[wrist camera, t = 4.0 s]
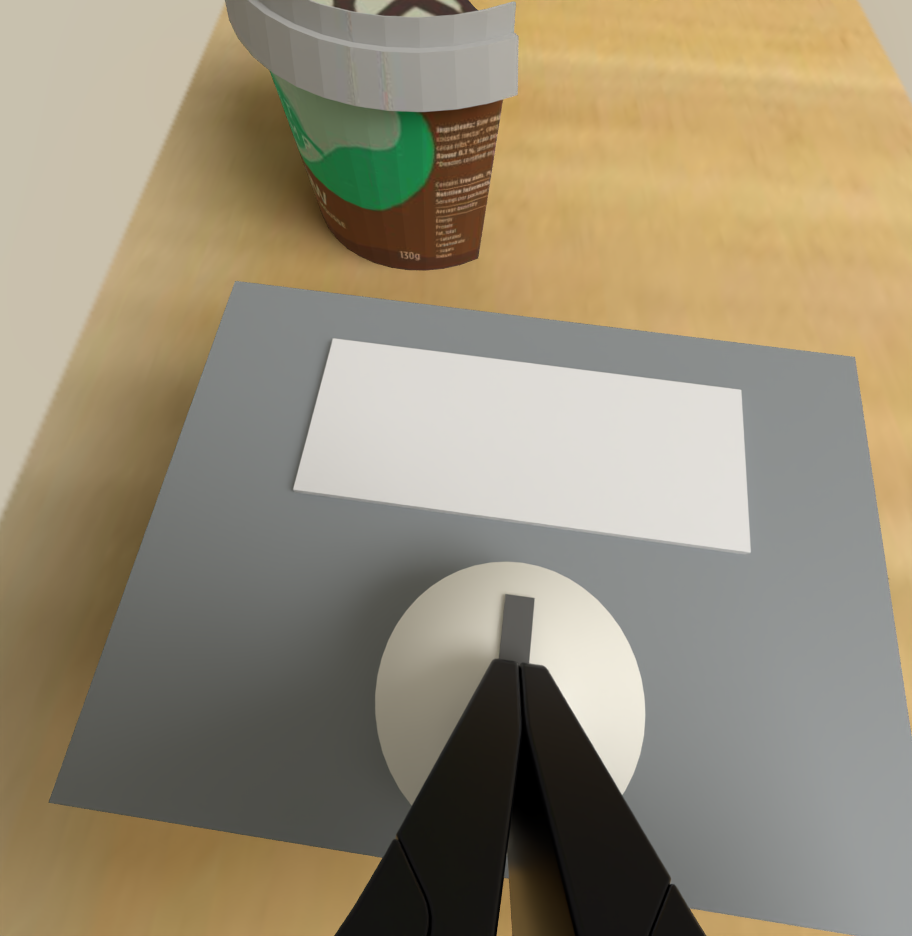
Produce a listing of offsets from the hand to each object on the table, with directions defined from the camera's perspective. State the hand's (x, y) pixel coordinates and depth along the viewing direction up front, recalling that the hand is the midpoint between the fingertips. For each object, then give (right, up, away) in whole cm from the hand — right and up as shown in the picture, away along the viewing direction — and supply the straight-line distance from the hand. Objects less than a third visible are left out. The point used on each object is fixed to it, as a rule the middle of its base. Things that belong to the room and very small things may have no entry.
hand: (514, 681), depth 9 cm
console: (0, -1, +10) cm, 10 cm away
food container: (-5, +15, +16) cm, 22 cm away
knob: (0, -2, +6) cm, 6 cm away
